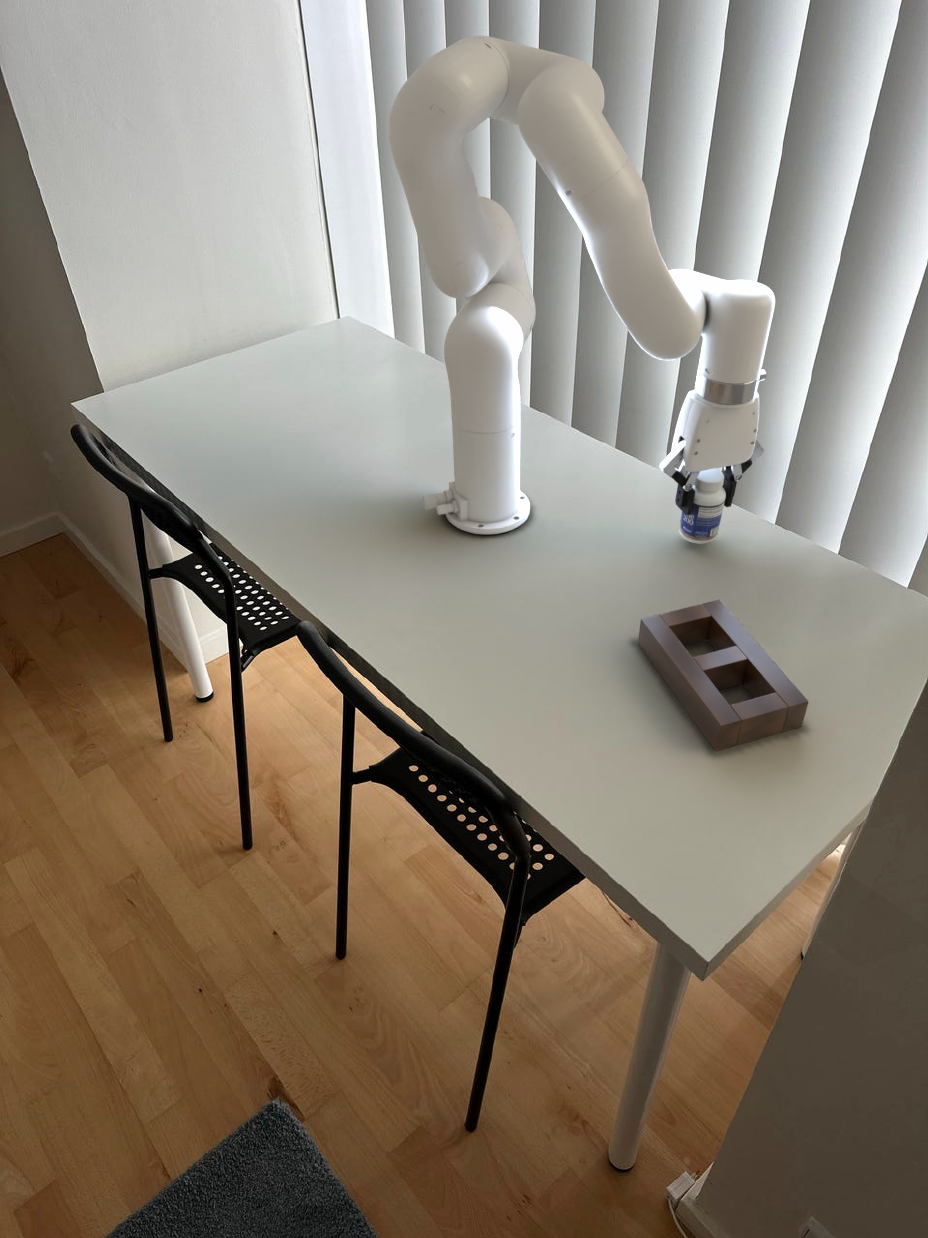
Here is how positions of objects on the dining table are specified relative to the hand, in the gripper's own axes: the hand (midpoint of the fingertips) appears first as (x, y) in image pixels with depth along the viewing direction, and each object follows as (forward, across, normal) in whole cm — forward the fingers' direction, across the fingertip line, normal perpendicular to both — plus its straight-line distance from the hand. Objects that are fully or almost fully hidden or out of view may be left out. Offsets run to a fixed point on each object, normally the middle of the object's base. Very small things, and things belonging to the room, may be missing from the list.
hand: (703, 504), depth 130 cm
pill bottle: (+5, 0, 0) cm, 5 cm away
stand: (+6, +12, +26) cm, 30 cm away
